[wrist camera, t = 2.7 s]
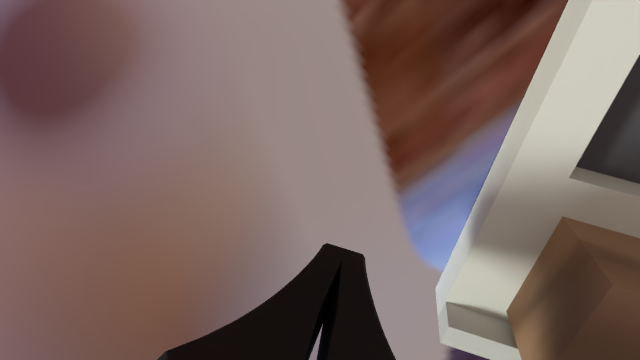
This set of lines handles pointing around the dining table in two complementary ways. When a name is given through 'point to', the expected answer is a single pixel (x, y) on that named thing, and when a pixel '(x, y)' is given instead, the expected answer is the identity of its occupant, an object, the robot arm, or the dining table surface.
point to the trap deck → (551, 172)
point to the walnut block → (580, 297)
